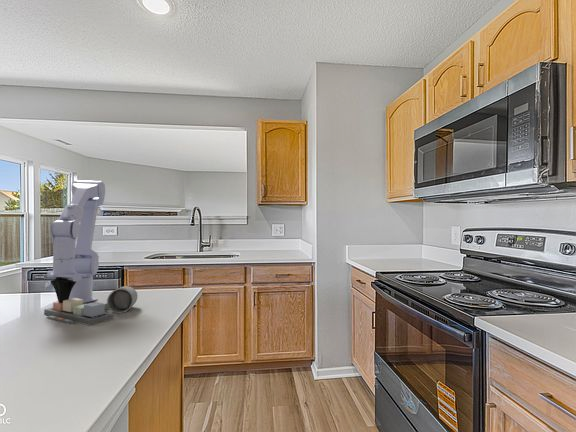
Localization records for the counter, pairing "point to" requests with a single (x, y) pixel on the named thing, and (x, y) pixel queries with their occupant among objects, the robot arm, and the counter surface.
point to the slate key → (94, 309)
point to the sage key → (78, 310)
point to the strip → (61, 319)
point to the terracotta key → (57, 306)
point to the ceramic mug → (121, 299)
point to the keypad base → (77, 318)
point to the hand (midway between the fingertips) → (63, 302)
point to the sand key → (71, 304)
